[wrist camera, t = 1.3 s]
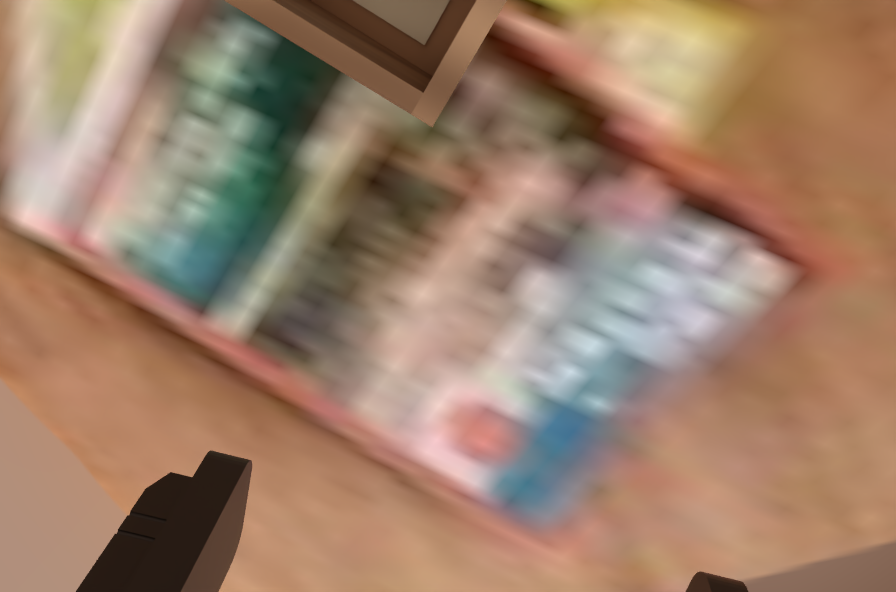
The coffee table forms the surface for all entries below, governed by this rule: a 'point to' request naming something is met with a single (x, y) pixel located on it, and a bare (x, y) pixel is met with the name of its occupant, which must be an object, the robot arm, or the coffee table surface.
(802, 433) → the coffee table surface
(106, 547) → the robot arm
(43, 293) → the coffee table surface
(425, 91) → the walnut box
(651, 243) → the coffee table surface
